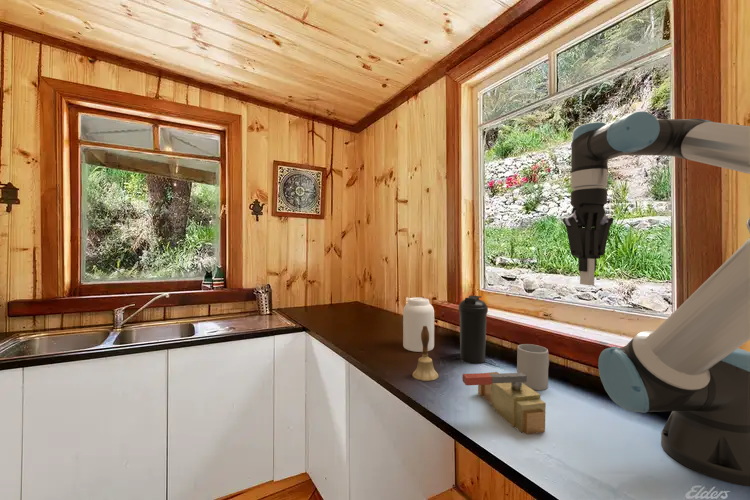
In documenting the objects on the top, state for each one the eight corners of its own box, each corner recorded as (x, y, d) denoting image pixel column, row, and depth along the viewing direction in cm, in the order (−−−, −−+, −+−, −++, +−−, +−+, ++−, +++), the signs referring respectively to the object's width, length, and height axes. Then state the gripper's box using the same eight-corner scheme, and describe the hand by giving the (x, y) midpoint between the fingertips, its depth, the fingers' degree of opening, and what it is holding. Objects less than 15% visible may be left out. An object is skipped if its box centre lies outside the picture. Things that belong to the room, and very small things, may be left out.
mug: (536, 393, 93) (537, 354, 93) (510, 382, 101) (511, 346, 100) (560, 383, 100) (561, 347, 99) (534, 373, 107) (535, 340, 107)
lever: (521, 386, 82) (521, 371, 82) (527, 390, 80) (527, 375, 79) (462, 388, 81) (462, 373, 80) (466, 393, 78) (466, 377, 78)
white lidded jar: (426, 354, 125) (426, 302, 124) (397, 349, 131) (397, 299, 131) (438, 346, 135) (439, 297, 135) (411, 341, 142) (411, 295, 141)
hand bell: (407, 375, 106) (407, 326, 105) (423, 368, 111) (424, 321, 111) (427, 383, 100) (427, 331, 99) (443, 376, 105) (444, 326, 105)
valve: (549, 431, 75) (549, 400, 74) (522, 435, 73) (522, 404, 73) (498, 391, 94) (498, 367, 94) (476, 394, 93) (476, 369, 93)
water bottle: (490, 358, 121) (490, 296, 121) (483, 366, 113) (483, 300, 112) (463, 352, 127) (463, 293, 126) (454, 361, 118) (454, 297, 118)
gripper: (597, 192, 86) (595, 282, 87) (554, 190, 83) (553, 283, 84) (624, 187, 79) (622, 286, 79) (578, 185, 76) (577, 287, 77)
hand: (587, 284), depth 82 cm, fingers closed
